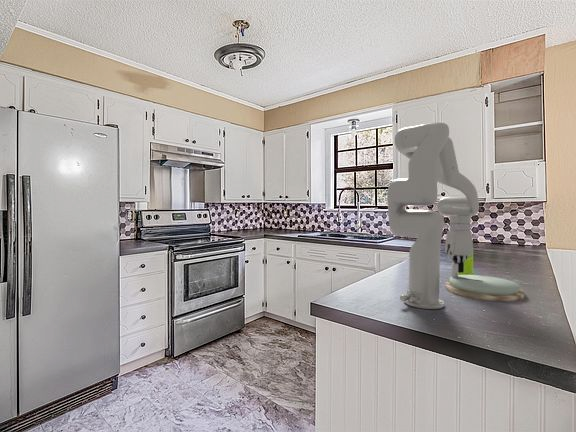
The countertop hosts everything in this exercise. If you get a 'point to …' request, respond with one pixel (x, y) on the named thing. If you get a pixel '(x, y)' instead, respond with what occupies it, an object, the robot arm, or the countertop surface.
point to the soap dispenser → (468, 266)
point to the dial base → (485, 296)
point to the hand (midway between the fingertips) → (458, 271)
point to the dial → (482, 283)
